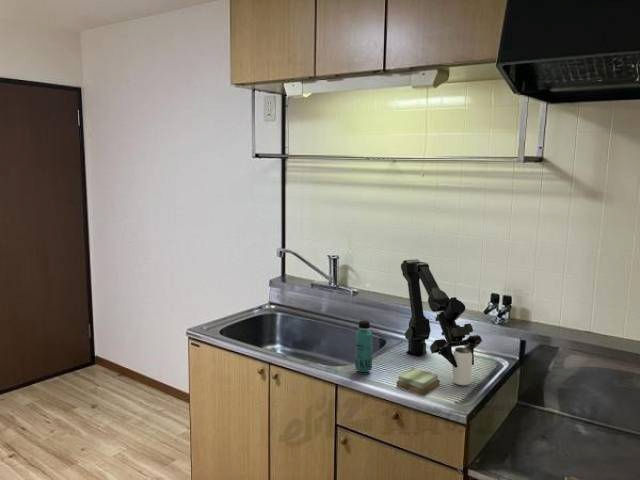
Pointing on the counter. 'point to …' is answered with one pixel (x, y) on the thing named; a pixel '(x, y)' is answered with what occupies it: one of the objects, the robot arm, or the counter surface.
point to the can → (462, 366)
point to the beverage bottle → (363, 347)
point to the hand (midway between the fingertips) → (464, 366)
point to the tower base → (415, 389)
